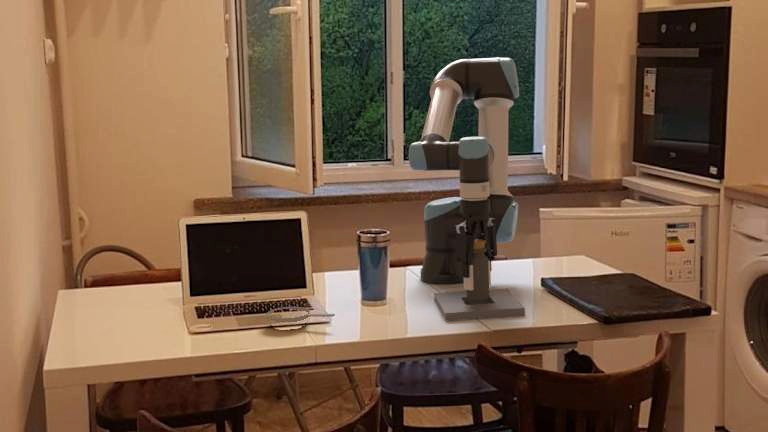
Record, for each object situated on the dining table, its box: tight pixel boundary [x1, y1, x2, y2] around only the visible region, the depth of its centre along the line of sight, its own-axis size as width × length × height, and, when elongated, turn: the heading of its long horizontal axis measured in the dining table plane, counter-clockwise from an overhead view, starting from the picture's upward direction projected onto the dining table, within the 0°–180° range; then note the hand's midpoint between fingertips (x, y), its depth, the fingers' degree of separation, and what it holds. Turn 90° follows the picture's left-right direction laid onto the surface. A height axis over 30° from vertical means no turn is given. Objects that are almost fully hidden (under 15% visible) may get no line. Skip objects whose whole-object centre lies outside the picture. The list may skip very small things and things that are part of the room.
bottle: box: [465, 239, 490, 300], centre depth 255 cm, size 6×6×15 cm
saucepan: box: [266, 306, 336, 323], centre depth 247 cm, size 11×18×4 cm, turn 68°
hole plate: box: [433, 288, 526, 321], centre depth 257 cm, size 20×20×2 cm
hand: (477, 286), depth 256 cm, fingers closed on bottle, 6 cm apart
